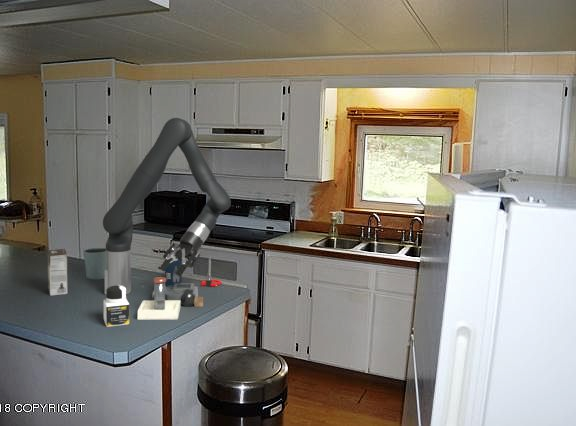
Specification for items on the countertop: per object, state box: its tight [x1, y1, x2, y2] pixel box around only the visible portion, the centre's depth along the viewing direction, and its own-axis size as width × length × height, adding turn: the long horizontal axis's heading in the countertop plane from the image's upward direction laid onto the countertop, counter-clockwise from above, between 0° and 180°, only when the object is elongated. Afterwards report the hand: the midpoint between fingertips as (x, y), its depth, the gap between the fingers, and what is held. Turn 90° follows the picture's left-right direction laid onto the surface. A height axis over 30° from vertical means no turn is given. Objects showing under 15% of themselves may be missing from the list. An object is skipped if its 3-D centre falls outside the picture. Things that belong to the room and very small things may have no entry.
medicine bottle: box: [103, 285, 130, 328], centre depth 161 cm, size 7×7×12 cm
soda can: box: [164, 254, 183, 286], centre depth 207 cm, size 7×7×12 cm
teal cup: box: [82, 247, 106, 280], centre depth 213 cm, size 10×10×12 cm
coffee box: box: [46, 248, 68, 296], centre depth 190 cm, size 9×6×16 cm
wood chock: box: [194, 296, 204, 308], centre depth 181 cm, size 3×2×3 cm
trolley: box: [151, 282, 199, 308], centre depth 185 cm, size 16×12×6 cm
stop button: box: [153, 276, 166, 310], centre depth 170 cm, size 4×4×12 cm
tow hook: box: [200, 255, 222, 288], centre depth 210 cm, size 8×13×9 cm
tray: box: [137, 299, 181, 321], centre depth 171 cm, size 13×11×3 cm
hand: (169, 272), depth 172 cm, fingers open, 8 cm apart
